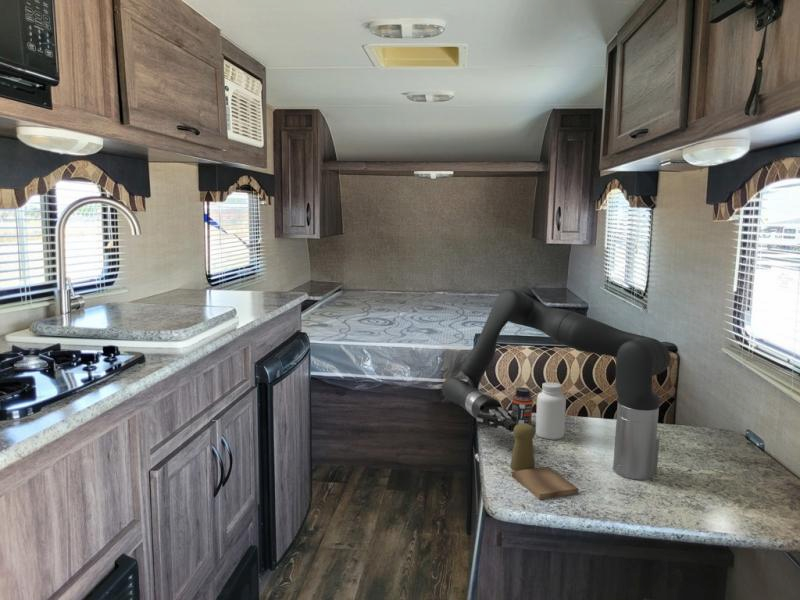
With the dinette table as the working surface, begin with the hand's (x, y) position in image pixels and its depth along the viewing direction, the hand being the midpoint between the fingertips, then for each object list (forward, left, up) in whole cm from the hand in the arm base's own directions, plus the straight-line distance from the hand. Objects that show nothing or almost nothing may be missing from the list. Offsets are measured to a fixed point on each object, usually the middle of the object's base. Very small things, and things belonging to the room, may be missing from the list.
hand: (514, 428), depth 145 cm
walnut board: (0, +14, -8) cm, 17 cm away
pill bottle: (-19, -12, -9) cm, 24 cm away
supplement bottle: (-15, -21, -9) cm, 27 cm away
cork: (0, +5, -9) cm, 10 cm away
